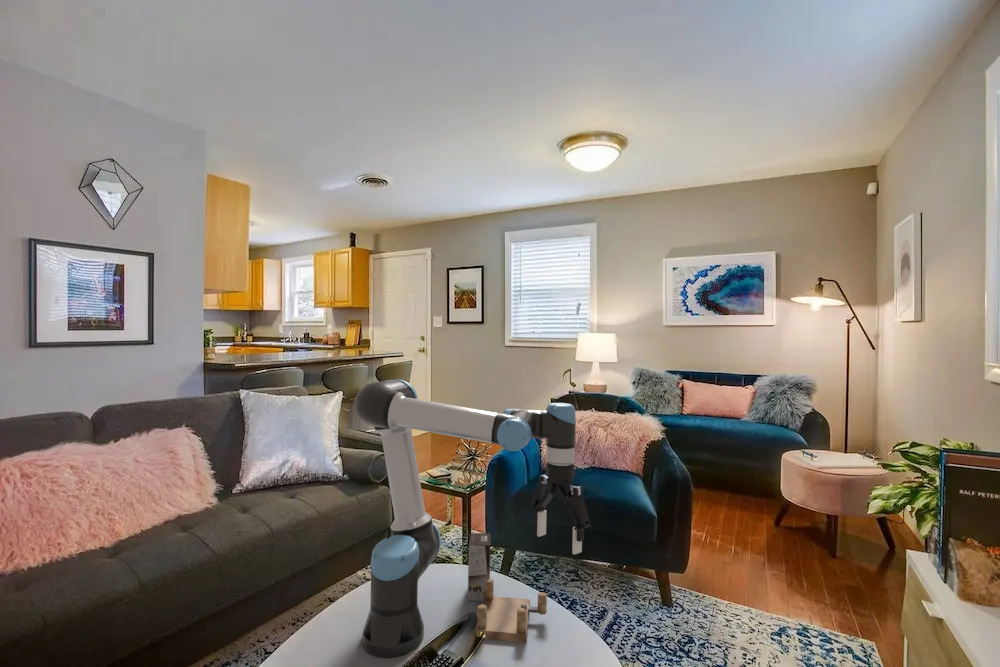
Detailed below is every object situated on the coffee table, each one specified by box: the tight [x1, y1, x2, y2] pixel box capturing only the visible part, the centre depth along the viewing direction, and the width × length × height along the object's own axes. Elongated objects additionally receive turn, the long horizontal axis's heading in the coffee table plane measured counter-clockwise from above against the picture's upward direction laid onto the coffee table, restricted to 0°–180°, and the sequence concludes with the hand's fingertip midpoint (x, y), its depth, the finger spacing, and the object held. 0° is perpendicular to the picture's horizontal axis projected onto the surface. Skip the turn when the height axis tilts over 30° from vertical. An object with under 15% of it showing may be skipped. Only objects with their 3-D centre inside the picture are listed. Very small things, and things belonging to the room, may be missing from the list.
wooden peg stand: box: [474, 578, 531, 643], centre depth 124 cm, size 13×16×7 cm
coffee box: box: [467, 532, 492, 602], centre depth 138 cm, size 9×6×16 cm
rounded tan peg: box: [528, 591, 548, 615], centre depth 125 cm, size 5×2×5 cm, turn 83°
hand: (558, 543), depth 122 cm, fingers open, 12 cm apart
